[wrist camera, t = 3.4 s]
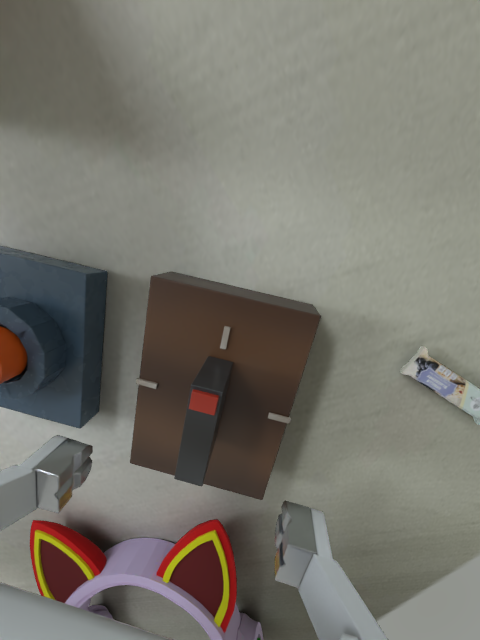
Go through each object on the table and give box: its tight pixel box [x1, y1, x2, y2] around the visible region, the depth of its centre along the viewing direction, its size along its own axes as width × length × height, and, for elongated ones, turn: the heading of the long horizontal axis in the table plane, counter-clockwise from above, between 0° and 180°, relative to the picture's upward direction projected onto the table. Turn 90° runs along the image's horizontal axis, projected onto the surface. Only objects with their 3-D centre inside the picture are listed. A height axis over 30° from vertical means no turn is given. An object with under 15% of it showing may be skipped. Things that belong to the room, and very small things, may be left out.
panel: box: [130, 272, 321, 500], centre depth 18 cm, size 14×10×3 cm
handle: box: [174, 356, 233, 486], centre depth 15 cm, size 6×2×4 cm, turn 168°
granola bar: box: [400, 346, 480, 425], centre depth 17 cm, size 7×2×1 cm, turn 58°
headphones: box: [30, 519, 263, 640], centre depth 22 cm, size 20×10×20 cm
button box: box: [0, 246, 107, 428], centre depth 18 cm, size 12×9×4 cm
